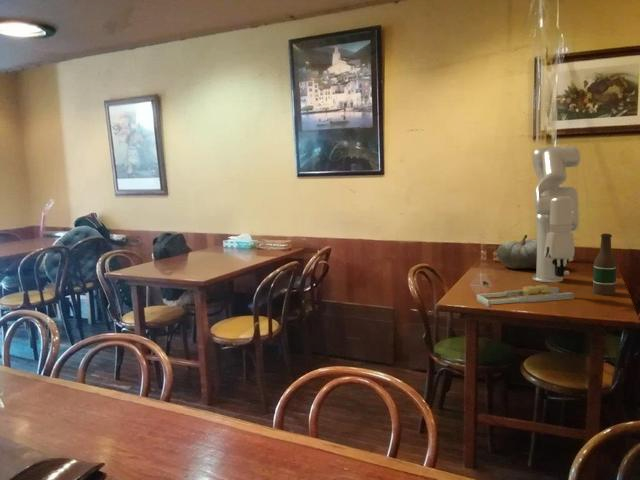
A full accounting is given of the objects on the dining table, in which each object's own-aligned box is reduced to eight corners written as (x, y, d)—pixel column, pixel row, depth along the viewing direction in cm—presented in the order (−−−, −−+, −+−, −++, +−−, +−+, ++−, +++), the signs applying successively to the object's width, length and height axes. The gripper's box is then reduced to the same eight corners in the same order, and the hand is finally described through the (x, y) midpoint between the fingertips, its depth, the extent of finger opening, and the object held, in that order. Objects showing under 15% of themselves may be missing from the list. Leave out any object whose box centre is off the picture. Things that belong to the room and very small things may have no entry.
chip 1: (531, 295, 190) (532, 285, 190) (537, 298, 187) (538, 288, 186) (522, 296, 190) (522, 286, 189) (528, 299, 186) (528, 288, 185)
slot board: (554, 293, 196) (554, 286, 196) (574, 300, 185) (574, 293, 184) (504, 297, 193) (504, 290, 193) (520, 305, 181) (520, 298, 181)
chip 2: (544, 294, 191) (545, 284, 191) (551, 297, 187) (551, 287, 187) (535, 295, 191) (535, 285, 190) (541, 297, 187) (541, 287, 186)
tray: (504, 298, 192) (504, 292, 192) (518, 304, 182) (518, 298, 182) (476, 300, 190) (476, 294, 190) (488, 307, 181) (488, 300, 180)
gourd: (561, 266, 237) (555, 231, 236) (512, 276, 236) (505, 242, 236) (538, 262, 262) (531, 230, 261) (493, 271, 261) (486, 240, 261)
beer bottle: (614, 296, 189) (617, 235, 185) (592, 294, 193) (594, 234, 190) (615, 292, 195) (618, 233, 192) (593, 290, 199) (595, 232, 196)
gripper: (571, 227, 191) (570, 273, 193) (536, 229, 189) (535, 275, 191) (584, 229, 184) (583, 276, 186) (548, 230, 181) (547, 279, 183)
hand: (559, 276), depth 188 cm, fingers closed
